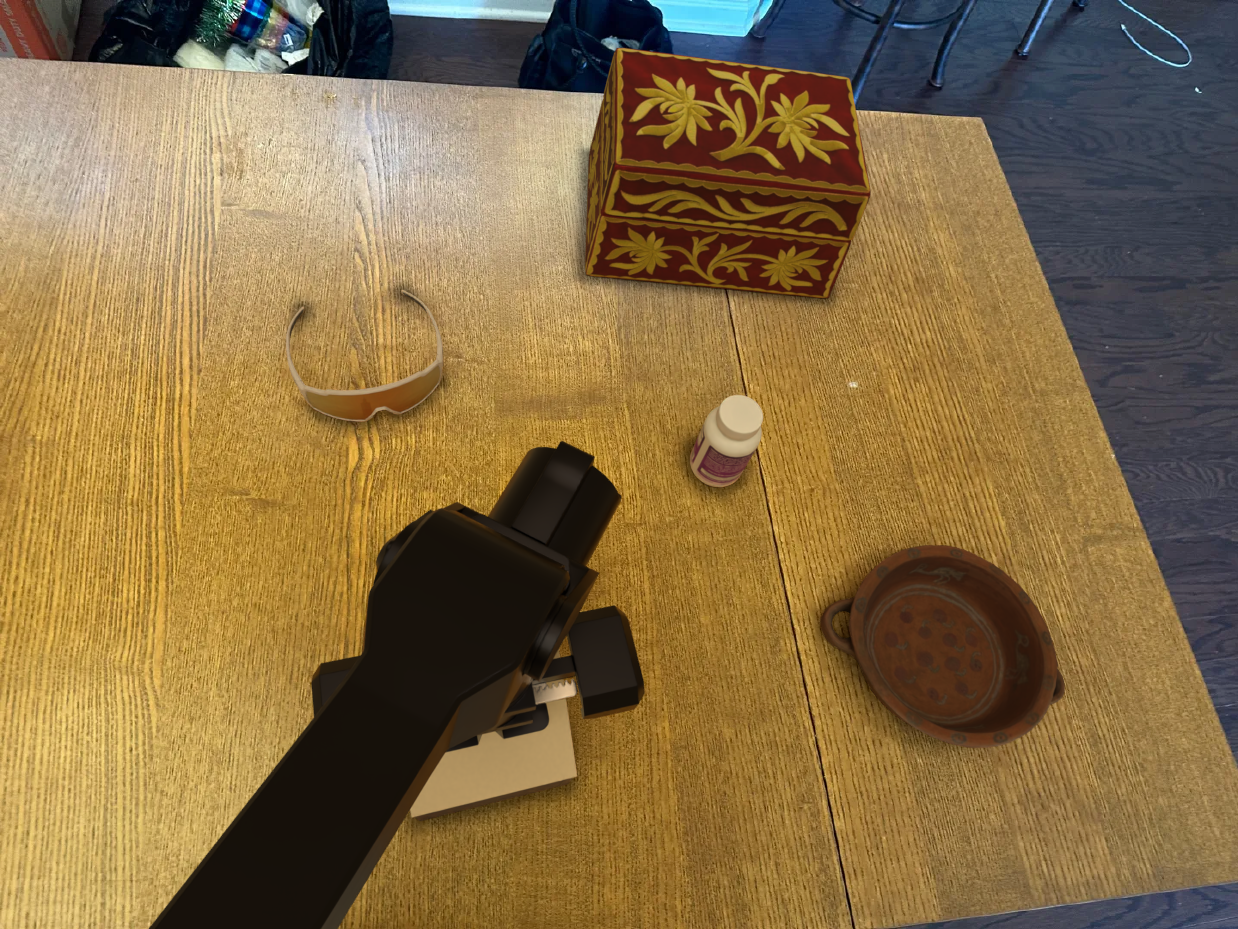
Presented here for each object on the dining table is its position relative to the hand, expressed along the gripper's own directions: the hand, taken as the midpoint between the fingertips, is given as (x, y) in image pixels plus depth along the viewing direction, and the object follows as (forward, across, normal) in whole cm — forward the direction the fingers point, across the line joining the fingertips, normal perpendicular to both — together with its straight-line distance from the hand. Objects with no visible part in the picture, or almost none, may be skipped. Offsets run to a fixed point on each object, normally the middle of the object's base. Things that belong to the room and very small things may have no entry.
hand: (484, 712), depth 55 cm
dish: (+11, -40, +2) cm, 41 cm away
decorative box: (+11, -34, -50) cm, 62 cm away
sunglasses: (+11, +5, -37) cm, 39 cm away
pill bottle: (+11, -26, -20) cm, 35 cm away
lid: (0, 0, -2) cm, 2 cm away
